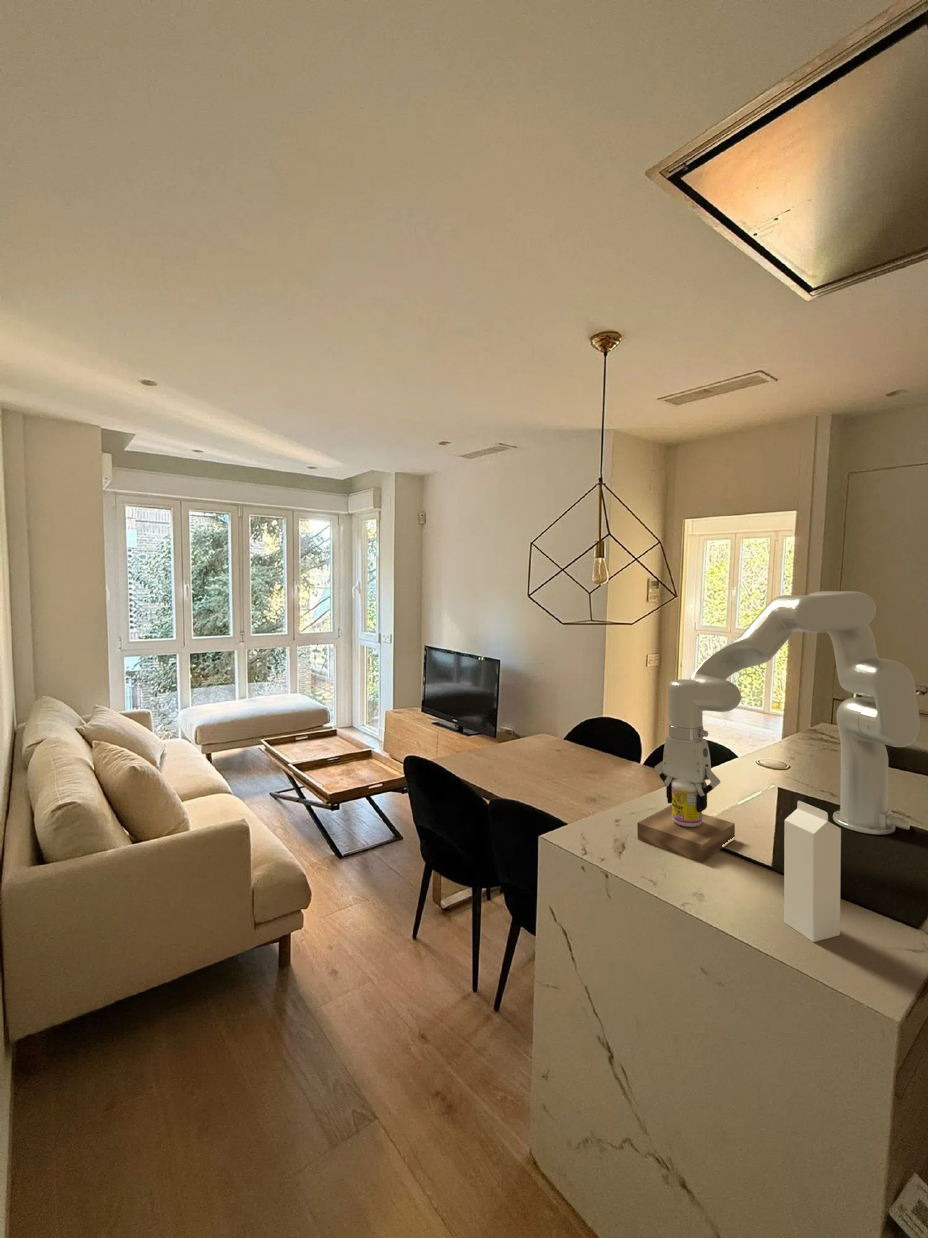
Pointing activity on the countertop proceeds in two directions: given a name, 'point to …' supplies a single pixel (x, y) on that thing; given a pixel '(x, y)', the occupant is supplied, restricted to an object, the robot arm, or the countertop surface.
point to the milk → (812, 873)
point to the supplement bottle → (685, 803)
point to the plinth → (686, 834)
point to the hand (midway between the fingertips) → (686, 805)
